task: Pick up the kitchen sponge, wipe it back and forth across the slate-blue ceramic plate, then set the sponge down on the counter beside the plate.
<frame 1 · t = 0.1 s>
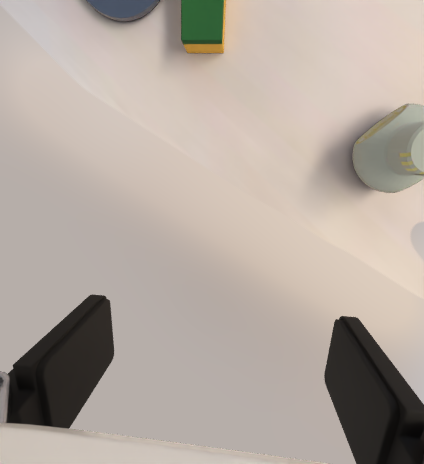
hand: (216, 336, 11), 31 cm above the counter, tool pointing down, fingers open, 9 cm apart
air freshener: (385, 151, 36), on the counter
sponge: (206, 18, 34), on the counter
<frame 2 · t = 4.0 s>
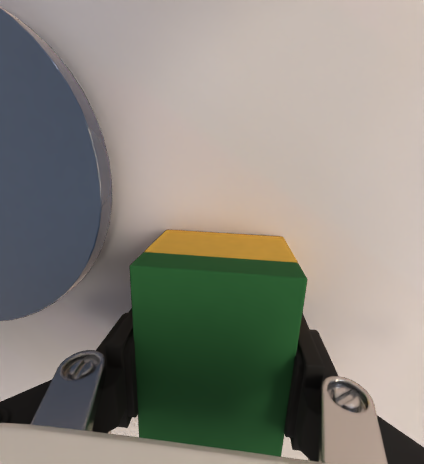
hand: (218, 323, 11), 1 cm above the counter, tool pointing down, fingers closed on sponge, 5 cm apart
sponge: (219, 314, 12), on the counter, touching gripper
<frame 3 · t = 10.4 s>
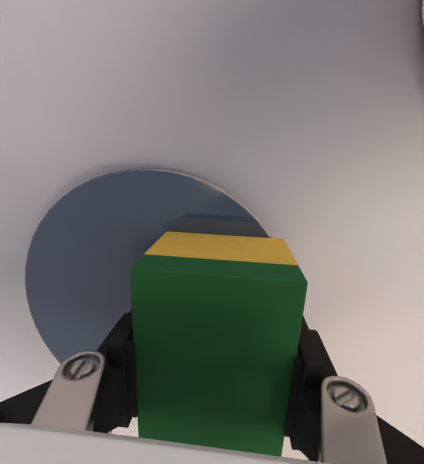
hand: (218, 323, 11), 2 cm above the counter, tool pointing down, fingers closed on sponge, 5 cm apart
plate: (161, 293, 14), on the counter
sponge: (219, 316, 12), point 2 cm above the counter, touching gripper
when the fingers open (0 cm above the counter, at t = 17.2 s): sponge stays where it is, on the counter.
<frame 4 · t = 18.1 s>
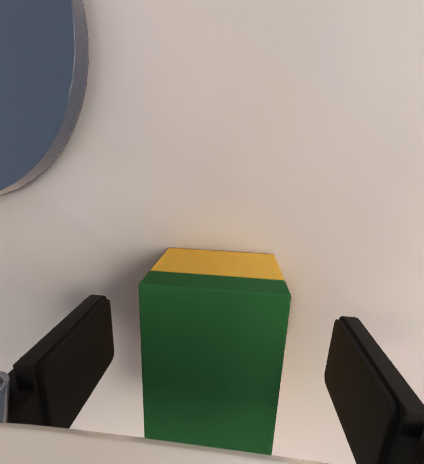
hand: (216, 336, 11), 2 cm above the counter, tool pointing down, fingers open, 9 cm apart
sponge: (217, 324, 13), on the counter
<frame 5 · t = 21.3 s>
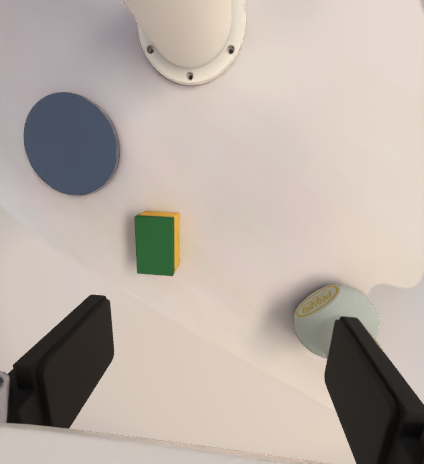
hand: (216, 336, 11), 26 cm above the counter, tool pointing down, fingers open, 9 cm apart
plate: (76, 147, 36), on the counter
air freshener: (327, 309, 38), on the counter
sponge: (162, 238, 38), on the counter
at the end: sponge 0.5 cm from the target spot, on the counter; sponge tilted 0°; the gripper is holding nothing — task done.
